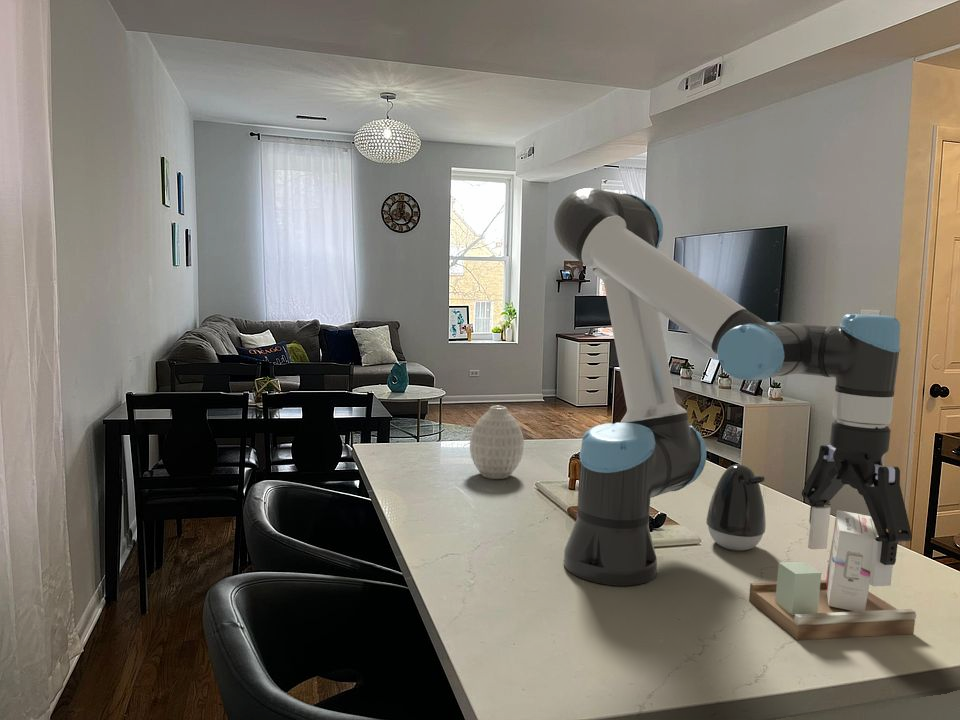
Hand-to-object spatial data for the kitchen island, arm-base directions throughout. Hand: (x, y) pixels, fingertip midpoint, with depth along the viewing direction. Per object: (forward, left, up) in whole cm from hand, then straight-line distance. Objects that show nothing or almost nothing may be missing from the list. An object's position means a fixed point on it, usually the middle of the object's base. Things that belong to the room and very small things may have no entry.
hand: (846, 565), depth 106 cm
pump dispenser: (-2, +27, -7) cm, 28 cm away
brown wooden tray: (-3, -1, -7) cm, 8 cm away
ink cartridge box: (0, 0, -5) cm, 5 cm away
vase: (-37, +75, -7) cm, 84 cm away
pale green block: (-9, -2, -5) cm, 11 cm away
